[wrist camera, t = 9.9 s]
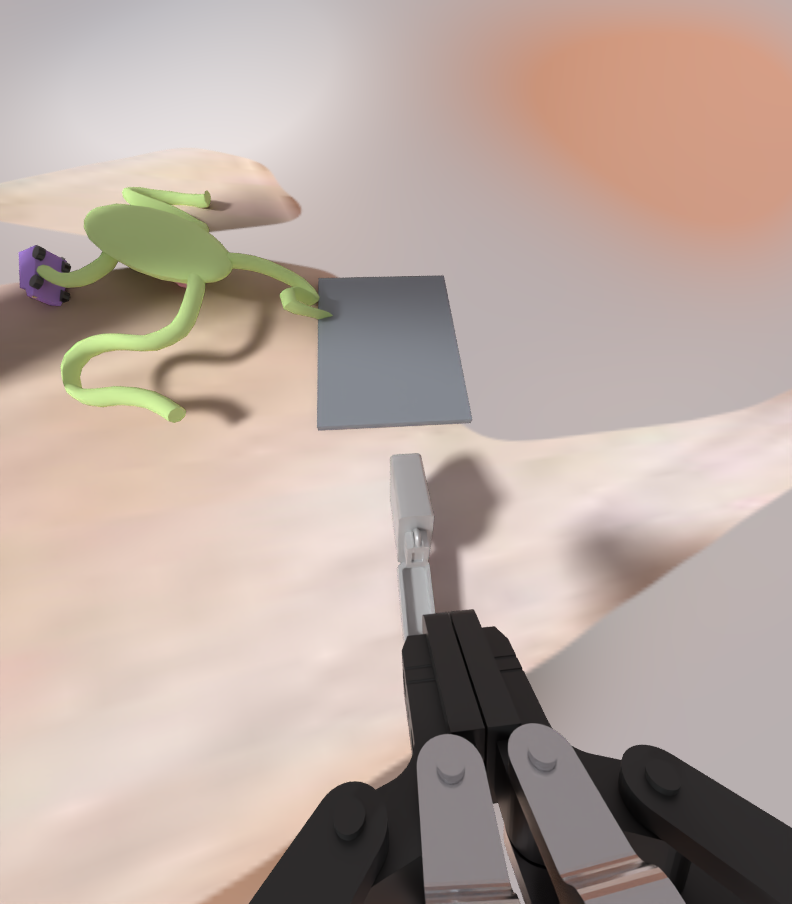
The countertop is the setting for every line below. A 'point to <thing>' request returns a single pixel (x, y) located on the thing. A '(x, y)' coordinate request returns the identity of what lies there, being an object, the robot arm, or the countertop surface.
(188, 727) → the countertop surface
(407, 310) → the slate pad
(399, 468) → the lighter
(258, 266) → the figurine
